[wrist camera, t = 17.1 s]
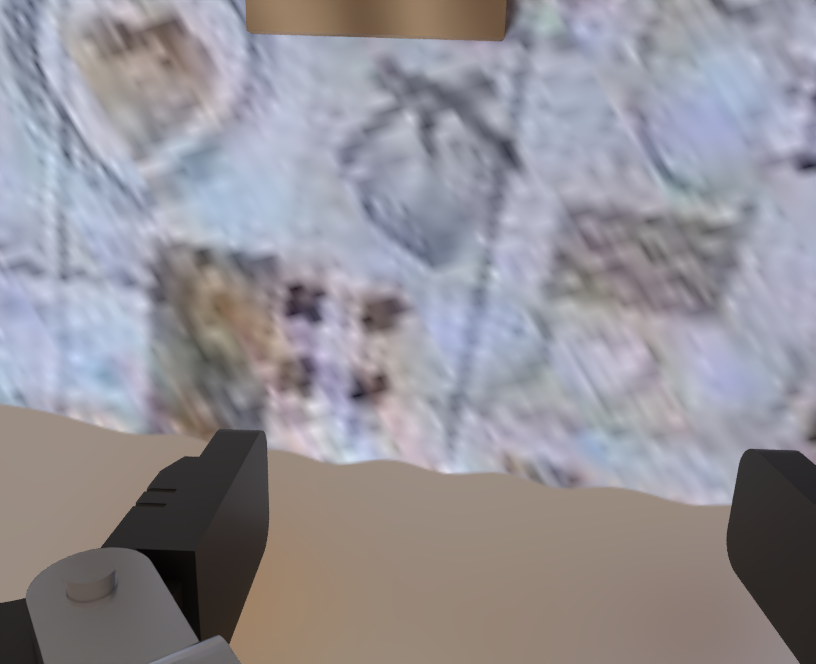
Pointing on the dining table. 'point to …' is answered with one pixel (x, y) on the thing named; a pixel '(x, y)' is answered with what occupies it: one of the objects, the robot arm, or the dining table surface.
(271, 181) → the dining table surface
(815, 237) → the dining table surface
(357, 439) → the dining table surface
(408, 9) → the walnut board
